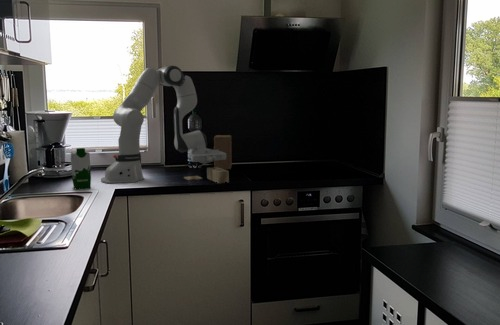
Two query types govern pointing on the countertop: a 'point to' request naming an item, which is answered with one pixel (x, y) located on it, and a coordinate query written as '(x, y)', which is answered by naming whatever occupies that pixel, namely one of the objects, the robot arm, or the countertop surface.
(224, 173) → the tall oak block
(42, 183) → the countertop surface
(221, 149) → the wooden block
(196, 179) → the cork trivet
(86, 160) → the milk carton
